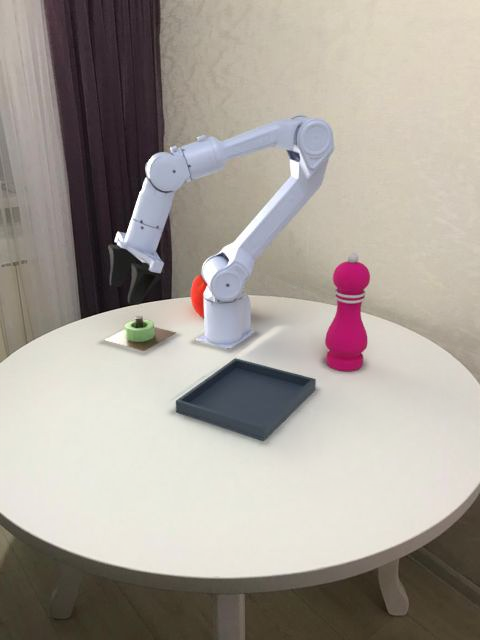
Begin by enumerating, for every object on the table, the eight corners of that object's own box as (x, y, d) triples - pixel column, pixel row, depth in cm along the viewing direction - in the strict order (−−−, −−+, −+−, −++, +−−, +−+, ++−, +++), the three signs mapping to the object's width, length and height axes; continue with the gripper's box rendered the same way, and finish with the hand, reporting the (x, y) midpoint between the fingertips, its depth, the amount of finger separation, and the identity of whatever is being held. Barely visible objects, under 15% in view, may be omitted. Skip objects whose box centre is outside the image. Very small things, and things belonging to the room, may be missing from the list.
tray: (235, 368, 103) (235, 357, 102) (315, 389, 95) (315, 378, 94) (176, 412, 89) (175, 400, 88) (263, 441, 82) (264, 429, 81)
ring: (138, 328, 118) (137, 317, 116) (160, 334, 115) (159, 322, 114) (120, 338, 113) (119, 326, 112) (142, 344, 111) (141, 332, 110)
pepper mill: (363, 355, 107) (373, 247, 98) (367, 373, 100) (379, 259, 92) (322, 354, 107) (329, 246, 99) (324, 372, 101) (332, 258, 92)
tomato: (181, 315, 126) (179, 276, 122) (219, 302, 132) (219, 265, 129) (213, 329, 118) (212, 288, 115) (252, 315, 125) (252, 276, 121)
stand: (137, 325, 121) (135, 304, 119) (176, 335, 116) (175, 314, 114) (103, 342, 113) (101, 321, 111) (144, 354, 108) (142, 331, 106)
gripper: (109, 204, 104) (88, 275, 108) (147, 232, 94) (121, 308, 98) (143, 213, 108) (121, 280, 113) (183, 240, 99) (157, 313, 103)
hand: (123, 294), depth 106 cm, fingers open, 7 cm apart
